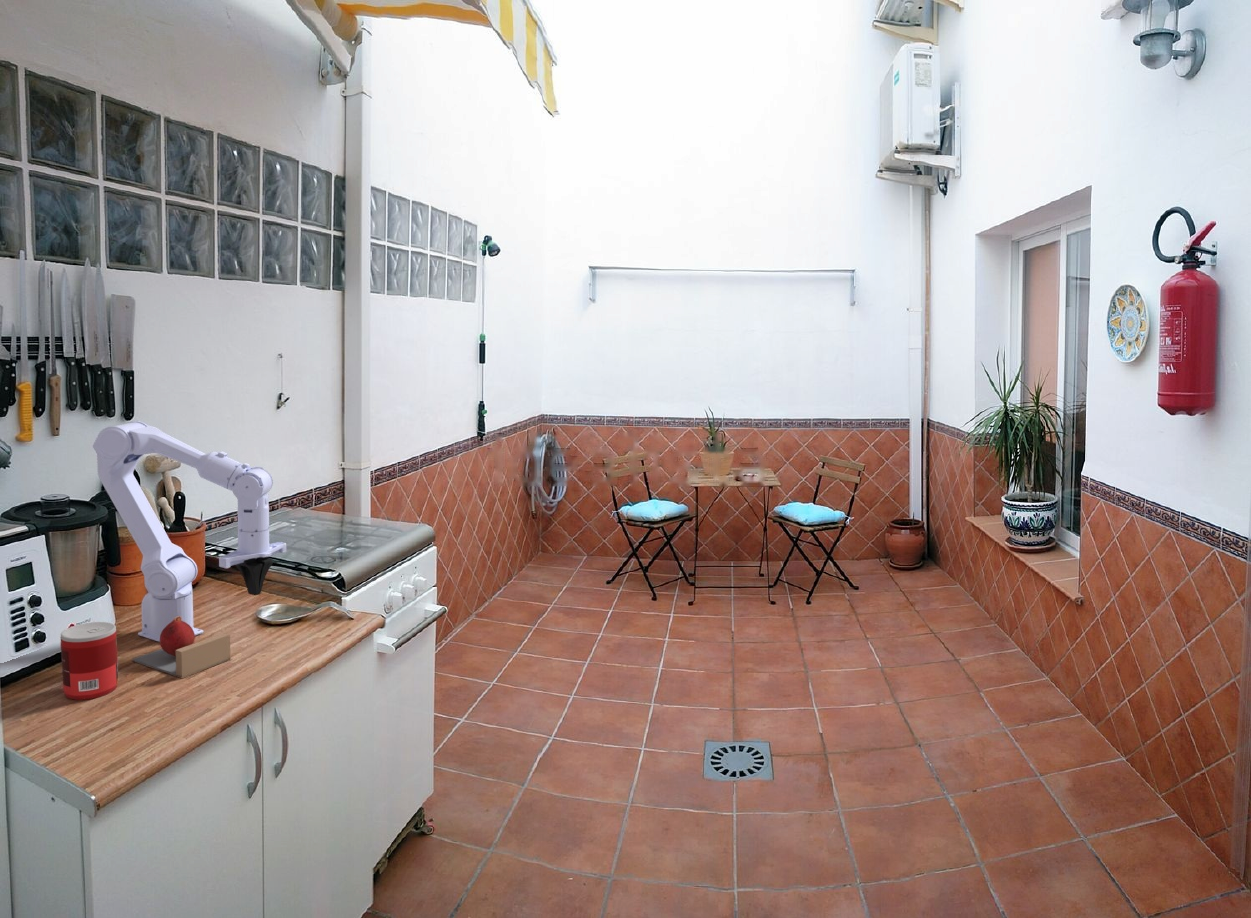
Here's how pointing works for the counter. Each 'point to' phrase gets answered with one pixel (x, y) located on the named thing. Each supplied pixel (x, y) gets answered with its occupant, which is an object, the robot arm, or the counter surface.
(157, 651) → the l-shaped bracket
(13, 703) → the counter surface
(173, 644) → the onion
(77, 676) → the canned food
